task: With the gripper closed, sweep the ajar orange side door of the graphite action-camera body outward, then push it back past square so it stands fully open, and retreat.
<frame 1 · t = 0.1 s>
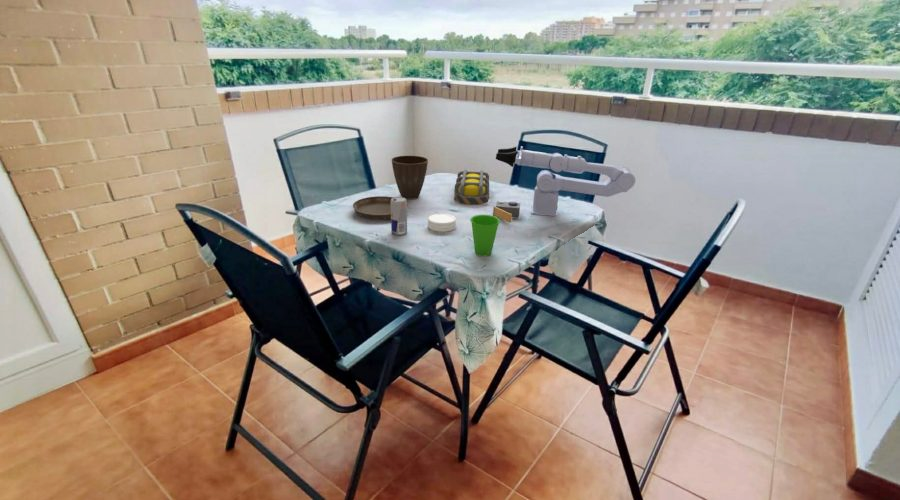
hand: (496, 154, 165), 22 cm above the table, tool horizontal, fingers open, 7 cm apart
plant saucer: (380, 213, 167), on the table
plant pot: (410, 197, 184), on the table
side door: (502, 214, 160), point 2 cm above the table, hinge at 45.0°
white round disc: (441, 227, 154), on the table
cage light: (472, 194, 190), on the table
camera body: (507, 214, 167), on the table
cup: (483, 253, 135), on the table
energy drink: (399, 233, 148), on the table
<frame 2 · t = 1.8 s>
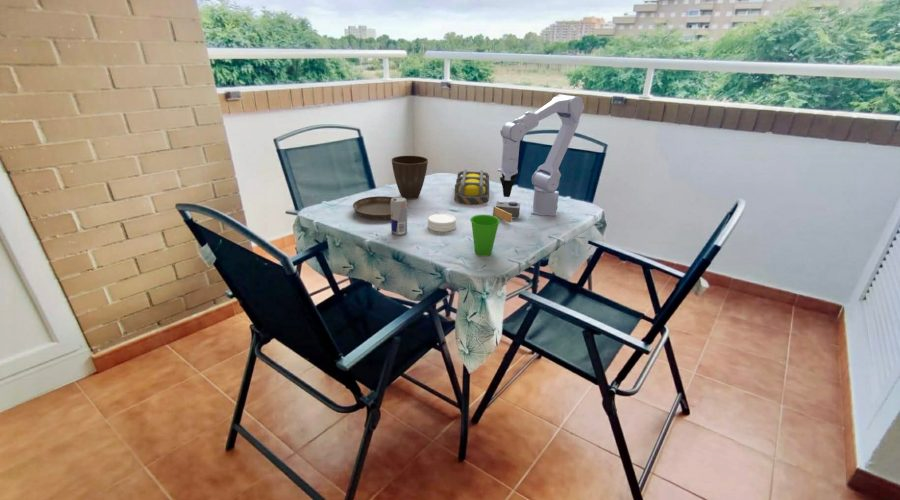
hand: (507, 194, 159), 9 cm above the table, tool pointing down, fingers open, 5 cm apart
nothing on the table moved.
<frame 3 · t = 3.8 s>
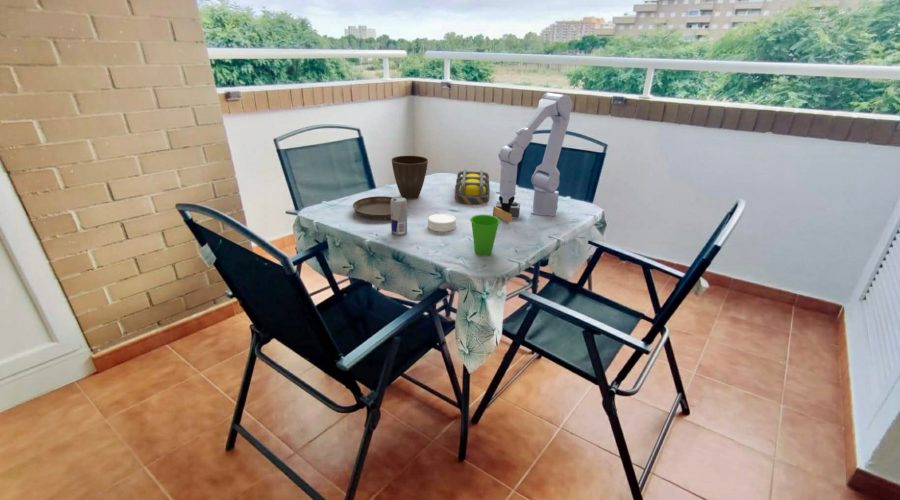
hand: (505, 215, 162), 2 cm above the table, tool pointing down, fingers closed, pressing on side door
side door: (502, 214, 160), point 2 cm above the table, hinge at 45.9°, touching gripper
everything else where it was.
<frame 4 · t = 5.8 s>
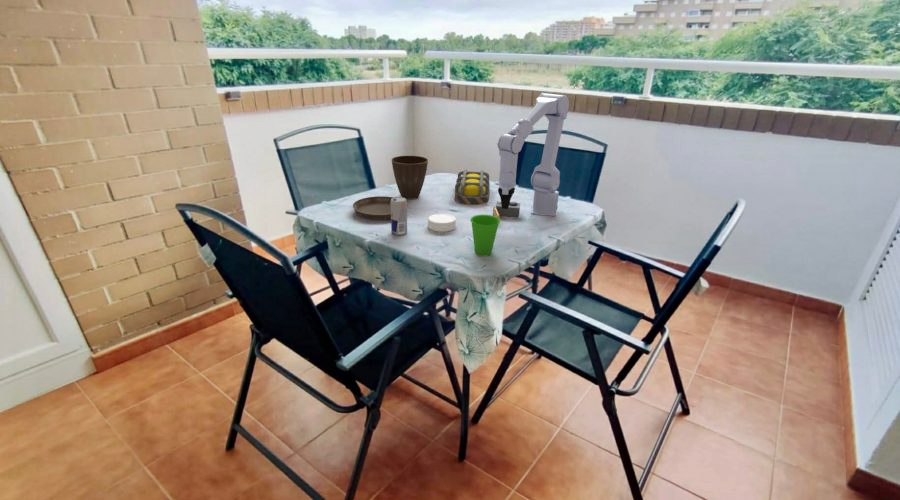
hand: (505, 208, 153), 7 cm above the table, tool pointing down, fingers closed
side door: (496, 214, 160), point 2 cm above the table, hinge at 76.2°
everything else where it was.
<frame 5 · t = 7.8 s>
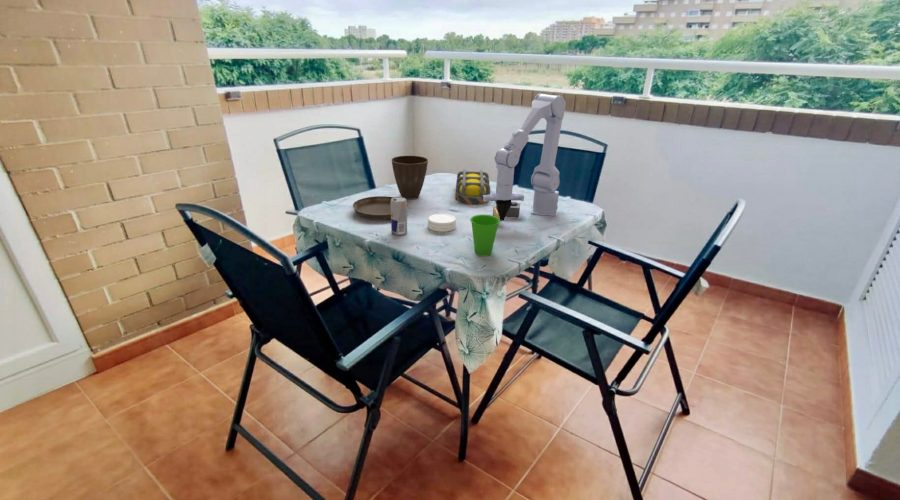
hand: (501, 219, 157), 2 cm above the table, tool pointing down, fingers closed
side door: (496, 214, 160), point 2 cm above the table, hinge at 76.2°, touching gripper
everything else where it was.
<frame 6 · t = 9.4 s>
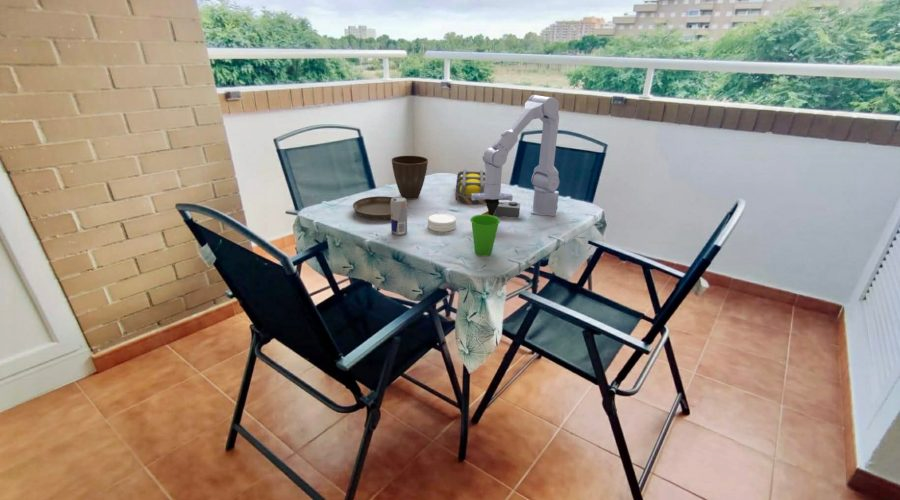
hand: (490, 218, 158), 2 cm above the table, tool pointing down, fingers closed
side door: (488, 214, 160), point 2 cm above the table, hinge at 112.9°, touching gripper
everything else where it was.
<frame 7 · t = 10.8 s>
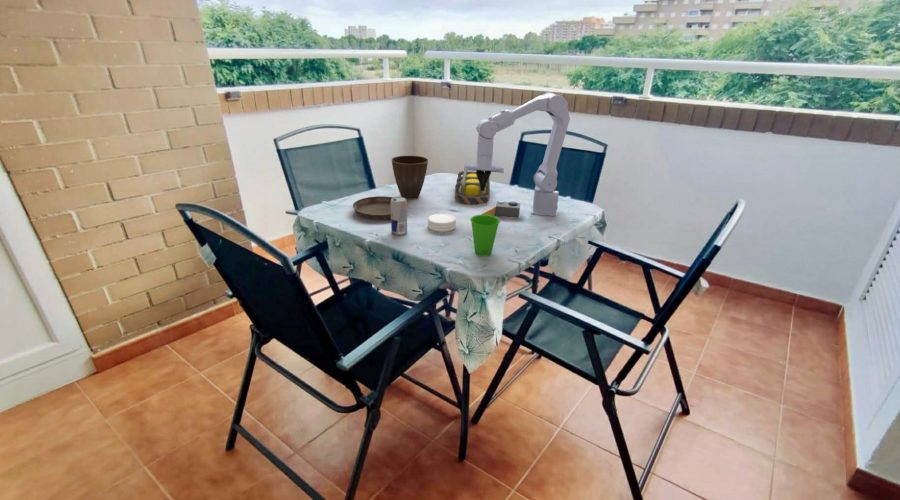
hand: (482, 190, 163), 9 cm above the table, tool pointing down, fingers closed
side door: (488, 214, 160), point 2 cm above the table, hinge at 113.1°
everything else where it was.
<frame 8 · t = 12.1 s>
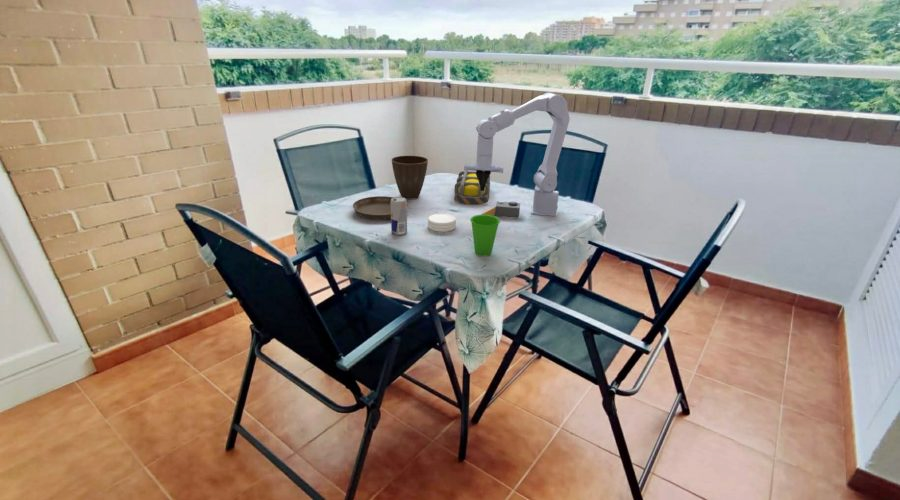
hand: (482, 190, 163), 9 cm above the table, tool pointing down, fingers closed
nothing on the table moved.
at the end: side door at +113° (first picture: +45°) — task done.
